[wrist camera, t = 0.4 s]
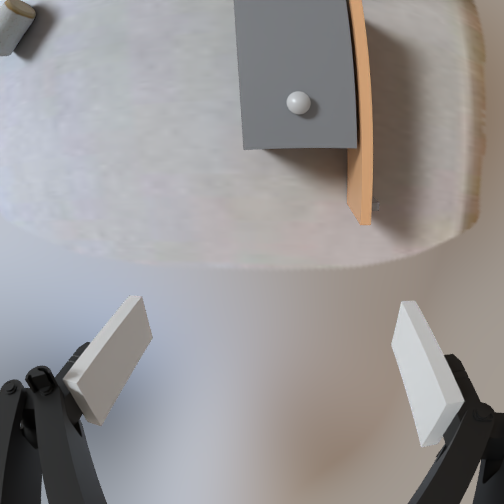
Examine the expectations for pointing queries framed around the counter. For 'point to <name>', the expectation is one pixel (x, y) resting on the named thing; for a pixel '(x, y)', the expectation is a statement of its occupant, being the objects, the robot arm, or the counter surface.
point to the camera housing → (295, 74)
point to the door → (361, 122)
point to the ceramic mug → (14, 24)
